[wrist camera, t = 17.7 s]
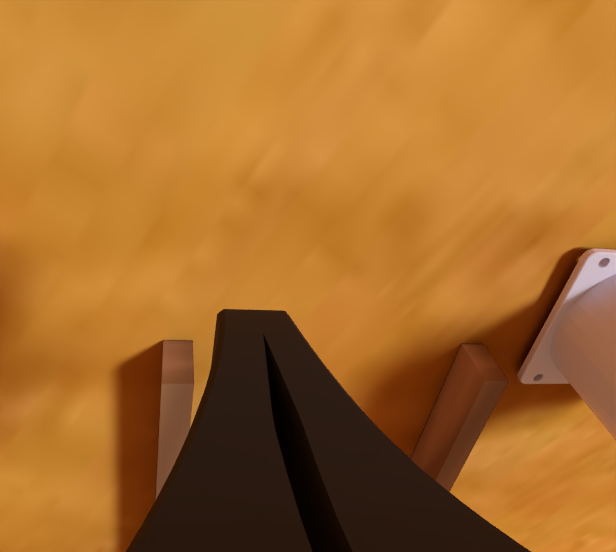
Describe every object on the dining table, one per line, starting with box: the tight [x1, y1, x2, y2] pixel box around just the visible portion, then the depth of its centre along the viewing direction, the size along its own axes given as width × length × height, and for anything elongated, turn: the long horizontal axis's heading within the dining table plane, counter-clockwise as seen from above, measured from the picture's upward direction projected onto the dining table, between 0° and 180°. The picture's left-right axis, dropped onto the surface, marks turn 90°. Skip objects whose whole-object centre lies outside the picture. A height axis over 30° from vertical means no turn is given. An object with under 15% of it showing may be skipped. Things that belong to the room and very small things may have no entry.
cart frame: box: [155, 340, 508, 501], centre depth 28 cm, size 15×18×2 cm
